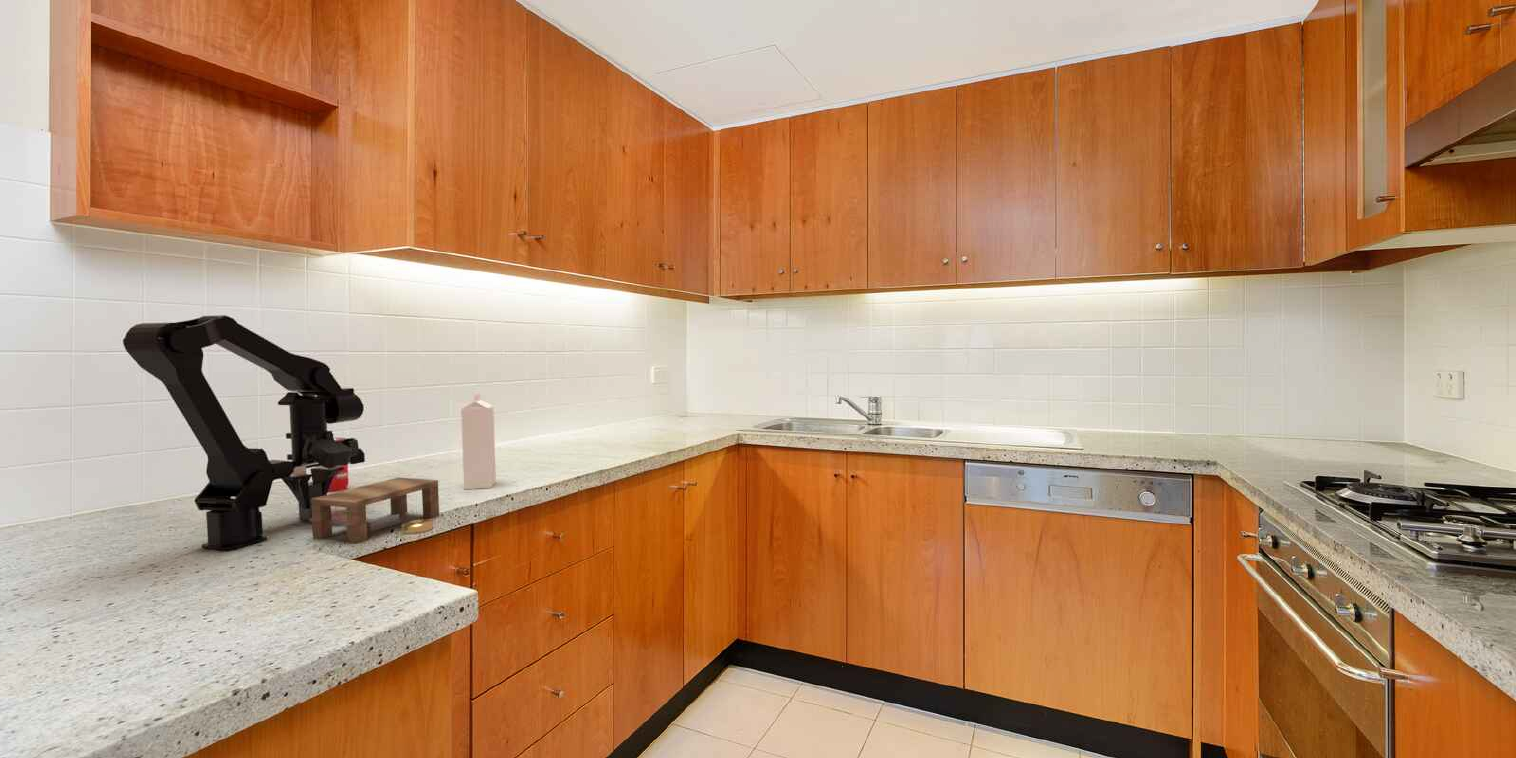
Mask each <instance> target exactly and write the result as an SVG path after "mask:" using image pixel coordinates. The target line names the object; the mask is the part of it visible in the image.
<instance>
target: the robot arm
mask: <svg viewBox="0 0 1516 758" xmlns="http://www.w3.org/2000/svg"><path fill="white" fill-rule="evenodd" d="M122 343H123V346H124V349H125V352H127V353H128V355H129V356H130V357H131V358H132V359H133V360H134V361H135V363H136V364H137V365H138V366H139V367H140V368H141V369H142V370H144V371H145V372H147V373H149V374H150V375H151V376H153V377H154V378H156V379H157V380H159V381H160V382H162V384H163V385H164V387H165V388H166V390H167V392H168V393H169V395H170V397H171V399H172V400H173V401H174V403H175V405H176V406H177V408H178V410H179V411H180V413H181V415H182V417H183V418H184V419H185V421H186V423H187V425H188V427H189V428H190V430H191V431H192V432H193V434H194V436H195V438H196V439H197V441H198V442H199V444H200V447H202V449H203V451H204V453H205V455H206V457H207V462H206V463H207V464H206V470H205V471H206V476H207V478H208V483H207V484H206V485H205V486H204V488H203V489H202V490H201V491H200V492H199V493H198V495H196V497H195V498H194V504H195V505H196V507H197V509H198V511H205V515H206V533H207V542H206V543H202V544H201V548H203V549H211V550H219V551H231V550H234V549H238V548H241V547H245V546H248V545H252V544H256V543H260V542H262V541H266V540H268V536H267V535H263V533H264V532H263V531H264V530H263V529H264V528H263V512H261V511H260V508H262V507H265V506H267V503H268V500H269V497H270V496H269V495H270V493H271V489H272V486H273V482H274V481H275V480H279V479H280V480H282V481H283V482H284V484H285V485H286V486H287V487H288V488H289V490H290V491H291V493H292V494H293V495H294V498H295V499H296V500H297V502H298V505H299V504H300V505H301V507H302V508H303V509H308V508H309V490H308V482H310V480H311V482H317V483H322V496H324V495H328V493H329V492H328V490H329V487H330V484H331V482H332V480H333V478H334V476H335V475H336V474H338V473H339V472H340V471H342V470H344V467H340V465H344V466H345V465H357V464H363V463H365V462H366V460H365V459H366V455H365V451H363V450H362V448H359V446H360V445H359V442H358V439H357V438H354V437H349V438H345V439H344V440H343V441H335V440H334V438H335V437H334V433H333V431H332V430H328V424H329V425H330V424H331V425H332V424H337V423H345V422H352V421H356V420H358V419H360V418H361V417H362V415H363V413H364V409H365V408H364V406H365V405H364V403H363V402H362V399H361V398H360V397H359V396H358V395H357V394H356V393H355V389H354V388H353V387H351V388H350V387H345V388H342V386H341V385H340V383H339V382H338V381H337V380H336V378H335V377H334V376H333V374H332V373H331V372H330V371H331V369H330V367H329V365H327V364H326V363H325V362H323V361H320V360H317V359H314V358H311V357H307V356H303V355H299V354H295V353H292V352H290V351H288V350H285V349H284V348H282V347H280V346H278V345H277V344H275V343H274V342H271V340H268V339H267V338H265V337H263V336H261V335H260V334H258V333H256V332H254V331H252V330H251V329H249V328H247V327H245V326H244V325H242V324H239V323H238V322H237V320H236V319H234V318H233V317H231V316H228V315H225V314H224V315H223V314H222V315H221V314H220V315H203V316H199V317H197V318H193V319H189V320H182V321H177V322H143V323H142V322H141V323H137V324H136V325H135V324H134V325H132V327H130V328H129V329H128V330H127V332H126V334H125V337H124V338H123V339H122ZM213 345H217V346H219V347H221V348H222V349H225V350H227V351H229V352H231V353H233V354H235V355H237V356H239V357H241V358H242V359H244V360H246V361H248V362H250V363H252V364H254V365H256V366H258V367H260V368H261V369H263V370H265V371H267V372H268V373H269V374H271V376H272V379H273V380H274V381H275V382H276V383H277V384H279V385H280V386H282V387H283V388H284V390H287V391H289V392H287V393H286V394H285V395H284V396H283V397H282V398H281V399H280V400H278V401H277V405H278V406H288V407H289V408H288V409H289V425H290V427H289V428H290V432H287V433H285V439H286V440H287V439H289V440H291V441H290V442H291V443H290V444H291V453H288V454H286V458H287V459H286V460H280V459H269V457H268V455H267V452H266V451H265V450H264V449H263V448H249V447H247V446H245V445H244V444H243V441H242V440H241V438H240V436H239V435H238V433H237V431H236V429H235V428H234V426H233V424H232V423H231V422H232V421H230V419H229V417H228V416H227V413H226V412H225V410H224V408H223V407H222V405H221V404H220V402H219V399H218V398H217V396H216V395H215V393H214V391H213V389H212V387H211V385H210V384H209V382H208V380H207V378H206V377H205V375H204V373H203V362H204V351H203V349H204V348H208V347H210V346H213ZM307 469H310V473H307ZM232 497H233V498H232Z"/></svg>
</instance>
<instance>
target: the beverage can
mask: <svg viewBox="0 0 1516 758" xmlns="http://www.w3.org/2000/svg"><path fill="white" fill-rule="evenodd" d="M333 438H334V440H335V441H343V440H344V439H346V438H345V437H333ZM348 465H349V464H348ZM348 465H345V466H344V465H340V467H344V470H342V471H340V472H339V473H338V474H336V475H335V476H334V478H333V480H332V482H331V484H330V487H329V490H328V492H327V493H330V492H331V493H332V492H333V493H335V492H341V491H345V490H348V486H349V466H348Z"/></svg>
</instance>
